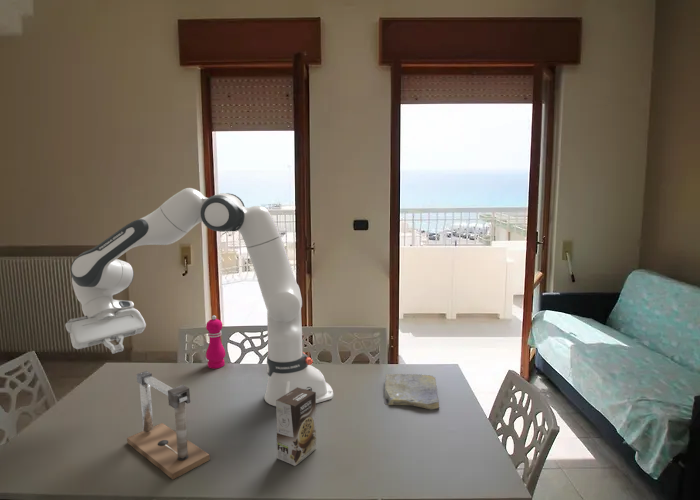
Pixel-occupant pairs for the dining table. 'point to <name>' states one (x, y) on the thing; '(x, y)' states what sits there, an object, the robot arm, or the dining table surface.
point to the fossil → (411, 390)
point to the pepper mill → (215, 344)
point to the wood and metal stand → (170, 441)
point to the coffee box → (296, 425)
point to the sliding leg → (145, 393)
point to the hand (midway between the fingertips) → (118, 351)
